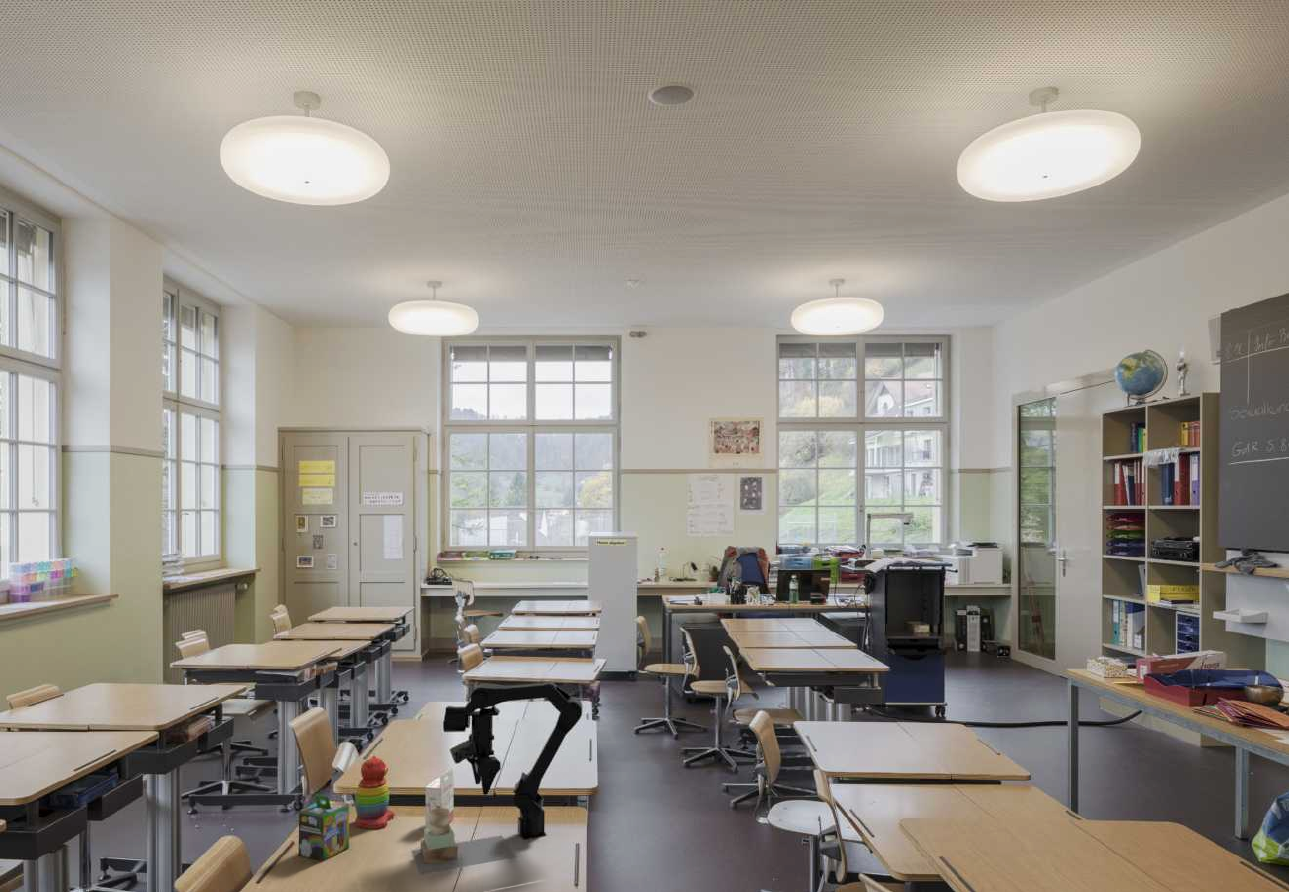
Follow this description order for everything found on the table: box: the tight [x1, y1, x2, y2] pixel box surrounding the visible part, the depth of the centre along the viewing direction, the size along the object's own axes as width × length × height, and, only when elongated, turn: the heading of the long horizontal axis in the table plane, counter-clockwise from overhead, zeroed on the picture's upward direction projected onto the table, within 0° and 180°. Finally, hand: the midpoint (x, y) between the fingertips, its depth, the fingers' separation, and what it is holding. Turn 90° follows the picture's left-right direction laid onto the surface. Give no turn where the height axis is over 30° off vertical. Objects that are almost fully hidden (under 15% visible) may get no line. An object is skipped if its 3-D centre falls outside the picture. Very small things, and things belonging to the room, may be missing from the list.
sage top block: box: [423, 824, 455, 850], centre depth 212 cm, size 6×6×3 cm
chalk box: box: [298, 793, 350, 862], centre depth 215 cm, size 9×9×15 cm
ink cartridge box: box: [425, 768, 455, 829], centre depth 233 cm, size 9×5×15 cm, turn 168°
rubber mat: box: [411, 834, 517, 875], centre depth 212 cm, size 24×15×1 cm, turn 114°
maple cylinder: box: [429, 808, 450, 835], centre depth 212 cm, size 5×5×5 cm
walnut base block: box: [420, 839, 458, 864], centre depth 211 cm, size 8×8×3 cm
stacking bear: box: [354, 755, 396, 830], centre depth 236 cm, size 11×10×18 cm
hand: (481, 789), depth 226 cm, fingers open, 9 cm apart
